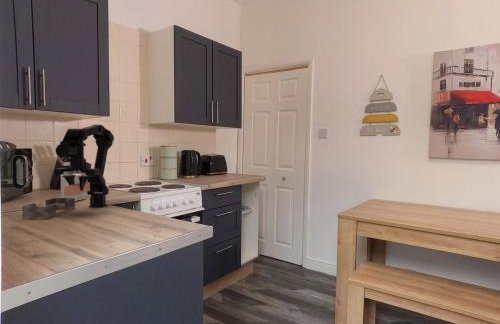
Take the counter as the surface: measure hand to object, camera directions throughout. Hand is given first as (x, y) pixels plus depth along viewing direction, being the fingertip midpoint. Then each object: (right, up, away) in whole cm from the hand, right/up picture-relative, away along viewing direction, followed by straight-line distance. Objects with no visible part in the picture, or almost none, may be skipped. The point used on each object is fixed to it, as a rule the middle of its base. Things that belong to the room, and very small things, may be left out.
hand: (77, 190), depth 141 cm
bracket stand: (-13, -11, +1) cm, 17 cm away
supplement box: (-20, -9, +32) cm, 39 cm away
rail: (0, -1, 0) cm, 1 cm away
